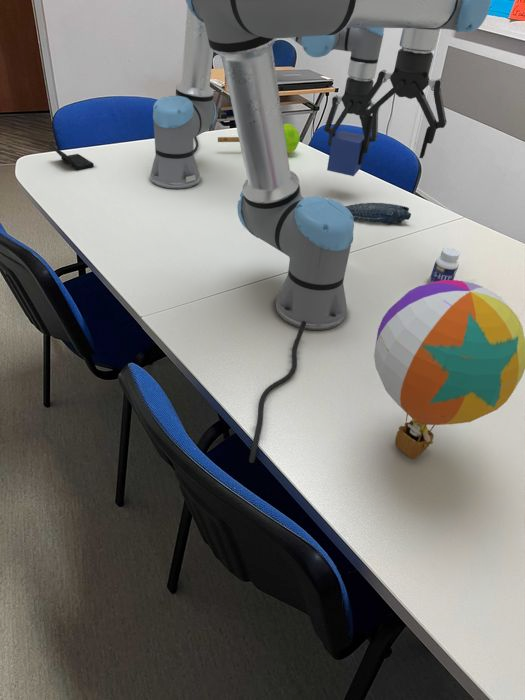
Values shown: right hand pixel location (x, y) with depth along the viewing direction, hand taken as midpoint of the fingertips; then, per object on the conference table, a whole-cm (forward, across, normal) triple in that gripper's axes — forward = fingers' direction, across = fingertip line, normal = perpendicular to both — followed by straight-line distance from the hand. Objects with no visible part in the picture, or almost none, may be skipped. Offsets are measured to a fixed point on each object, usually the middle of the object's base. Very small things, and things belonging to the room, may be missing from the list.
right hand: (393, 151), depth 124 cm
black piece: (+25, +101, -3) cm, 104 cm away
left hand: (+14, +18, -28) cm, 36 cm away
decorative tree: (+25, +55, -49) cm, 78 cm away
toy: (+25, -23, +68) cm, 76 cm away
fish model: (+25, +4, -16) cm, 30 cm away
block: (+16, +18, -28) cm, 37 cm away
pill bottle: (+25, -20, +12) cm, 34 cm away
